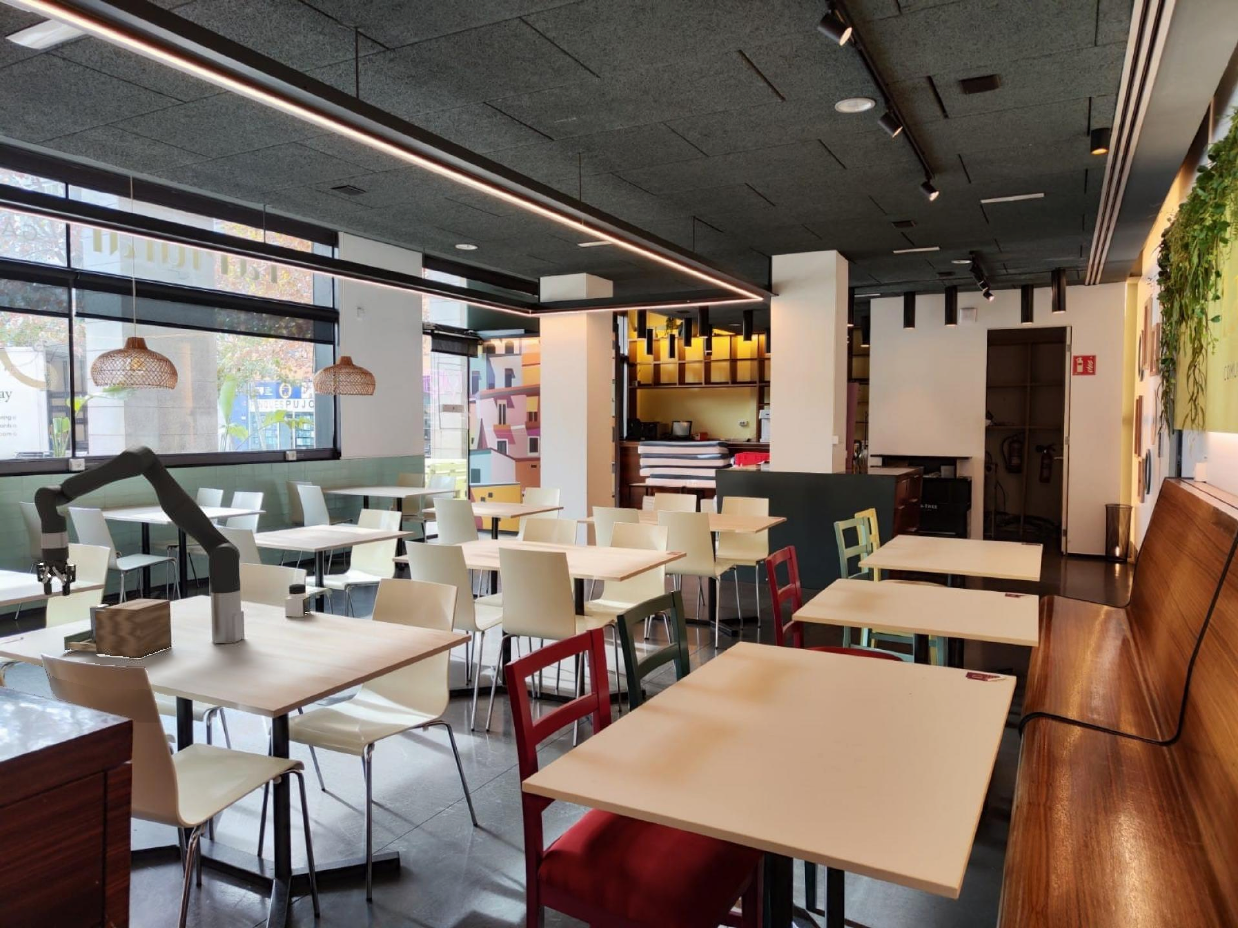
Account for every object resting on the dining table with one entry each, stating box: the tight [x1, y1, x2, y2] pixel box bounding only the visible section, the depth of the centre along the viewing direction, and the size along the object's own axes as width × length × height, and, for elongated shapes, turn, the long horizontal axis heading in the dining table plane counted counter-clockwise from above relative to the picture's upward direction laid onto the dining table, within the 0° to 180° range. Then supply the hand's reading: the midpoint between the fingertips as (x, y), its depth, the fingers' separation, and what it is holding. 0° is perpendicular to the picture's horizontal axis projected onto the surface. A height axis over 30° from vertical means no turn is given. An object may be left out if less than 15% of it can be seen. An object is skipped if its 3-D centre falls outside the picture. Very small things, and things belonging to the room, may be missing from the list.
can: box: [89, 603, 110, 643], centre depth 277 cm, size 5×5×12 cm
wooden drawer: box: [63, 628, 96, 652], centre depth 277 cm, size 17×11×5 cm, turn 77°
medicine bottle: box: [284, 583, 311, 617], centre depth 325 cm, size 7×7×12 cm
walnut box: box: [95, 598, 173, 659], centre depth 274 cm, size 16×14×16 cm
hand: (57, 595), depth 281 cm, fingers open, 6 cm apart
